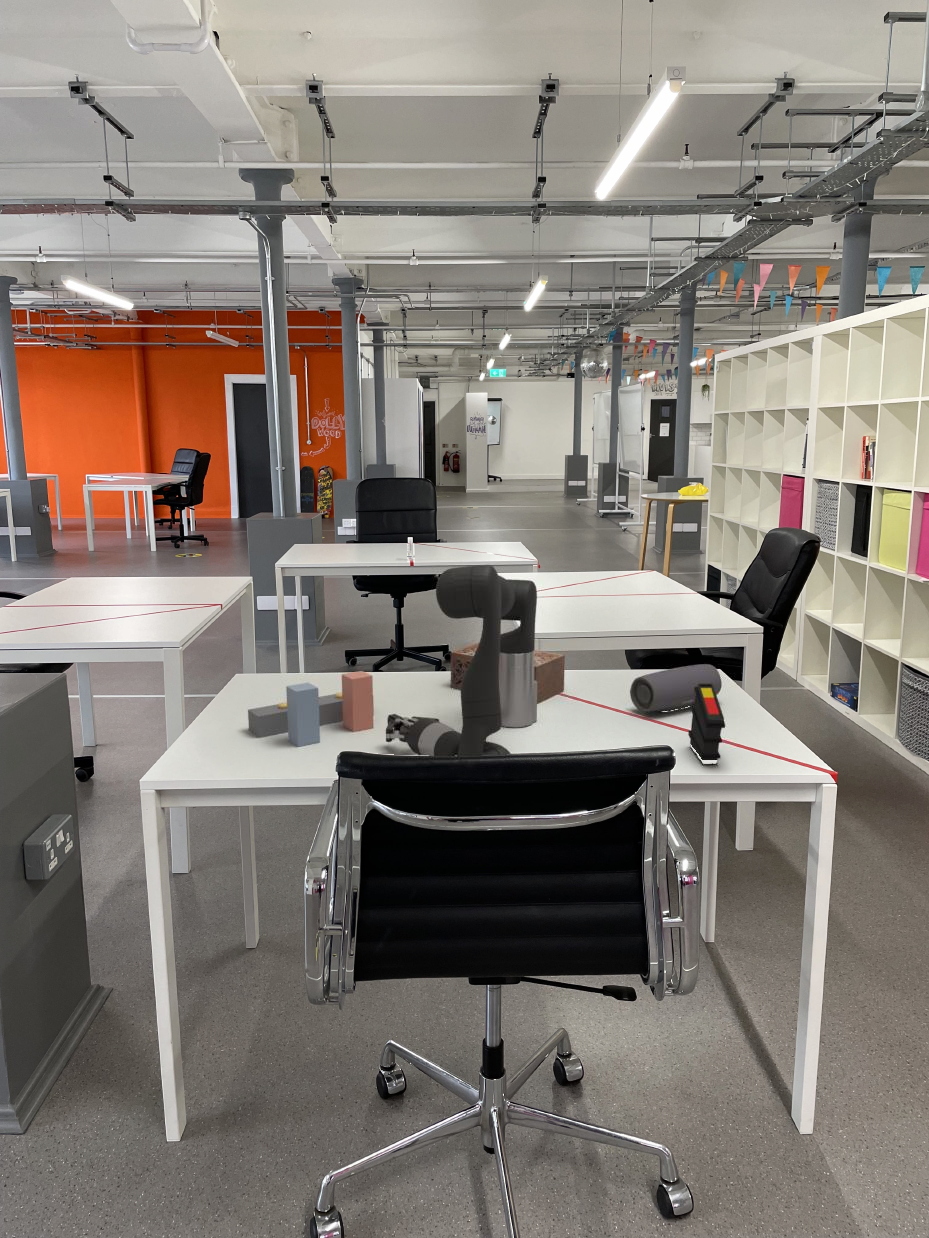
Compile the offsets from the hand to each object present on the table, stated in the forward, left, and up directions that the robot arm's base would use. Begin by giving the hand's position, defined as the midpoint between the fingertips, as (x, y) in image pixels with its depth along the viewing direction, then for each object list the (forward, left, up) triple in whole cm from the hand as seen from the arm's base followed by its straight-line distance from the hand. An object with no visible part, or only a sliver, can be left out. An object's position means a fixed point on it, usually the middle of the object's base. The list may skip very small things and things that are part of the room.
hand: (391, 718), depth 186 cm
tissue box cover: (-48, -23, -7) cm, 54 cm away
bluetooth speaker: (-72, +13, -7) cm, 74 cm away
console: (+7, -17, -7) cm, 20 cm away
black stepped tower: (-51, +40, -7) cm, 65 cm away
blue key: (+14, -13, -6) cm, 20 cm away
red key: (0, -15, -6) cm, 16 cm away
